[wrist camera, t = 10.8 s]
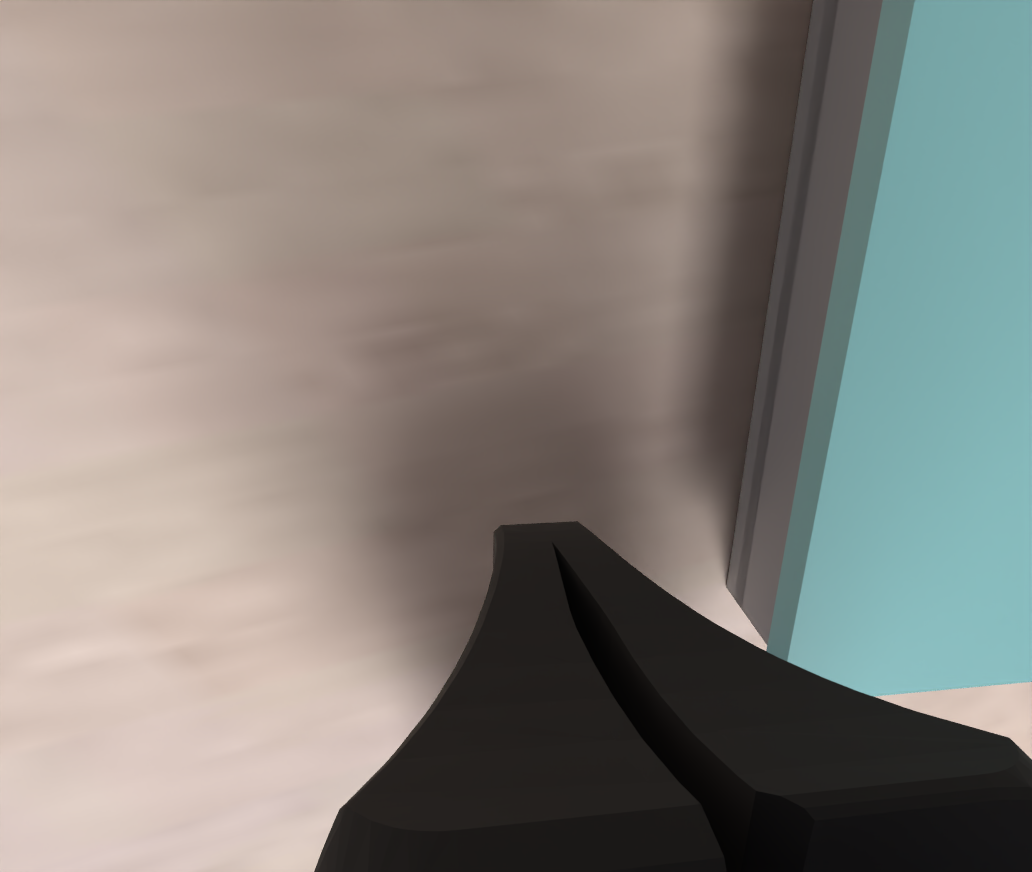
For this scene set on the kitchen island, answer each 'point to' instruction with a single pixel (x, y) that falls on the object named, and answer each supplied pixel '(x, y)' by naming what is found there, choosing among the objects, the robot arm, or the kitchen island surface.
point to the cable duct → (800, 292)
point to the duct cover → (924, 374)
